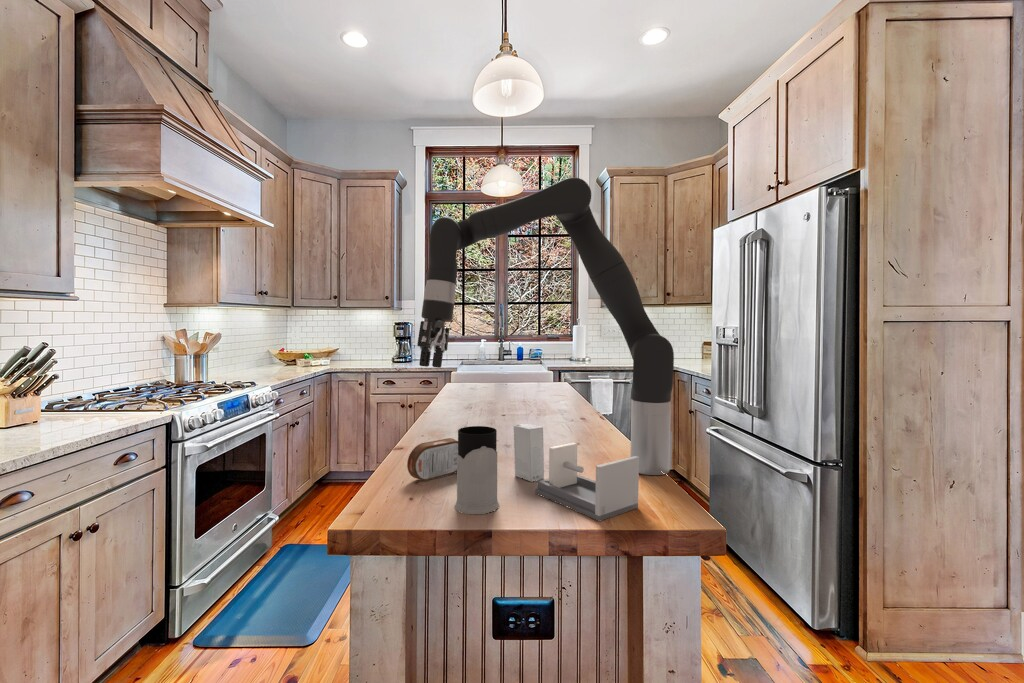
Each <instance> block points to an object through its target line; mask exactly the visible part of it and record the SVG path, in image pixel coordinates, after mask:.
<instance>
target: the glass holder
mask: <svg viewBox="0 0 1024 683" xmlns="http://www.w3.org/2000/svg"><path fill="white" fill-rule="evenodd" d="M497 434H498V433H497V428H494V427H491V426H485V425H484V426H483V425H476V426H475V425H474V426H465V427H461V428H458V429H457V441H458V455H457V472H456V502H455V504H454V509H455V511H457V512H458V511H460V512H459V513H461V512H462V513H461V514H464V513H465V514H464V515H469V514H483V515H485V514H484V513H488V514H490V513H489V512H492V511H494V510H496V509H497V508H498V507H499V508H500V503H499V501H498V451H497V448H498V447H497V446H498V445H497V437H498V436H497ZM499 508H498V509H499ZM498 509H497V510H498ZM497 510H496V511H497ZM494 512H495V511H494ZM492 513H493V512H492Z"/></svg>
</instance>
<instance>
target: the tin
mask: <svg viewBox="0 0 1024 683" xmlns="http://www.w3.org/2000/svg"><path fill="white" fill-rule="evenodd" d="M457 455H458V440H456V439H454V438H453V437H448V438H443V439H437V440H431V441H426V442H425V441H424V442H421V443H419V444H417V445H416V446H414V447H413V449H412V450H411V451H410V453H409V455H408V458H407V461H406V462H407V464H406V467H407V471H408V474H409V475H410V476H411V477H412V478H414V479H417V480H419V481H422V482H428V481H431V480H436V479H440V478H443V476H444V477H446V476H447V475H448V476H451V475H455V474H457Z"/></svg>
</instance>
